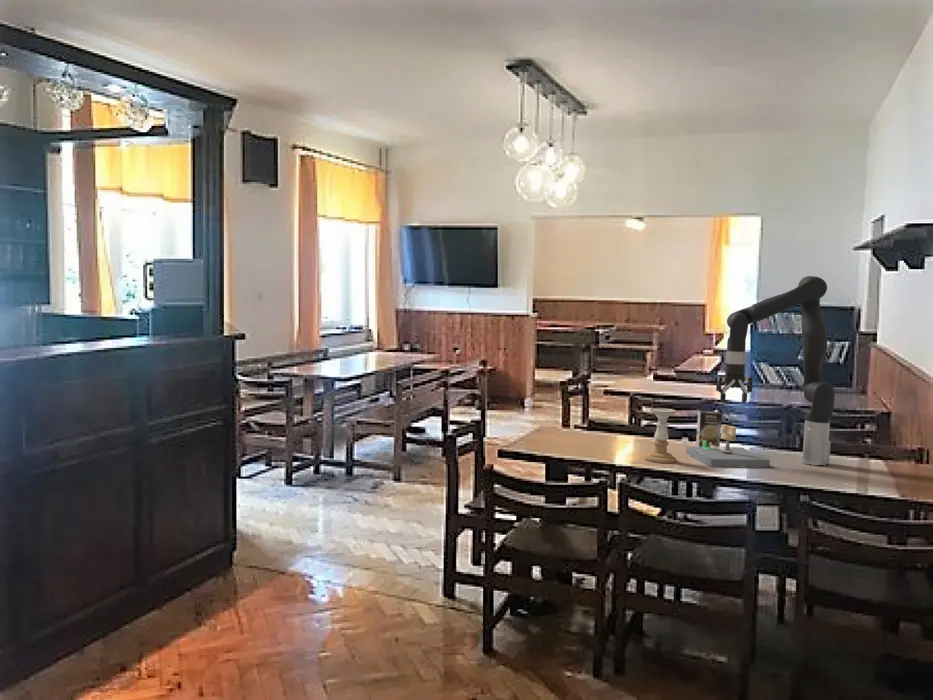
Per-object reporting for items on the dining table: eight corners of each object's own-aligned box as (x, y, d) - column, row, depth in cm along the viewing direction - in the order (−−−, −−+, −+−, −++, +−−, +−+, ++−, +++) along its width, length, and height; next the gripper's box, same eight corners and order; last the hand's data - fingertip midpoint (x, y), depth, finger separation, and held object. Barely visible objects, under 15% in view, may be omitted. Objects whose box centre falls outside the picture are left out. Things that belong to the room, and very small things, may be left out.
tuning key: (736, 453, 345) (738, 427, 344) (728, 453, 343) (730, 427, 342) (713, 447, 356) (714, 421, 356) (705, 447, 355) (707, 422, 354)
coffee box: (697, 449, 367) (700, 412, 366) (695, 447, 374) (697, 410, 372) (719, 451, 366) (722, 413, 365) (717, 448, 373) (719, 411, 371)
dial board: (741, 454, 360) (742, 440, 360) (769, 467, 337) (770, 452, 336) (686, 454, 357) (687, 439, 356) (711, 466, 333) (711, 451, 333)
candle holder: (652, 463, 335) (655, 412, 334) (639, 457, 347) (641, 407, 346) (681, 463, 338) (684, 412, 337) (667, 456, 350) (670, 407, 349)
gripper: (722, 363, 341) (720, 404, 342) (756, 363, 342) (754, 404, 344) (714, 361, 348) (712, 401, 349) (748, 361, 350) (746, 401, 351)
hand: (733, 402), depth 347 cm, fingers open, 8 cm apart
